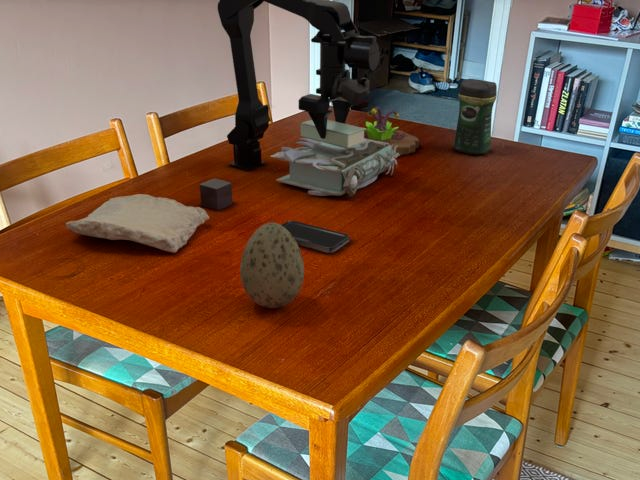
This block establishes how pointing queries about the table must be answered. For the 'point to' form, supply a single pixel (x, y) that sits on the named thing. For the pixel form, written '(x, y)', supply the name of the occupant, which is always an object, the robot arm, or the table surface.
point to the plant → (390, 133)
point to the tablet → (142, 221)
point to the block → (216, 194)
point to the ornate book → (336, 166)
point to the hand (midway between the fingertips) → (331, 134)
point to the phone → (316, 237)
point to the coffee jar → (475, 116)
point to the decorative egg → (272, 266)
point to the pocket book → (335, 133)
